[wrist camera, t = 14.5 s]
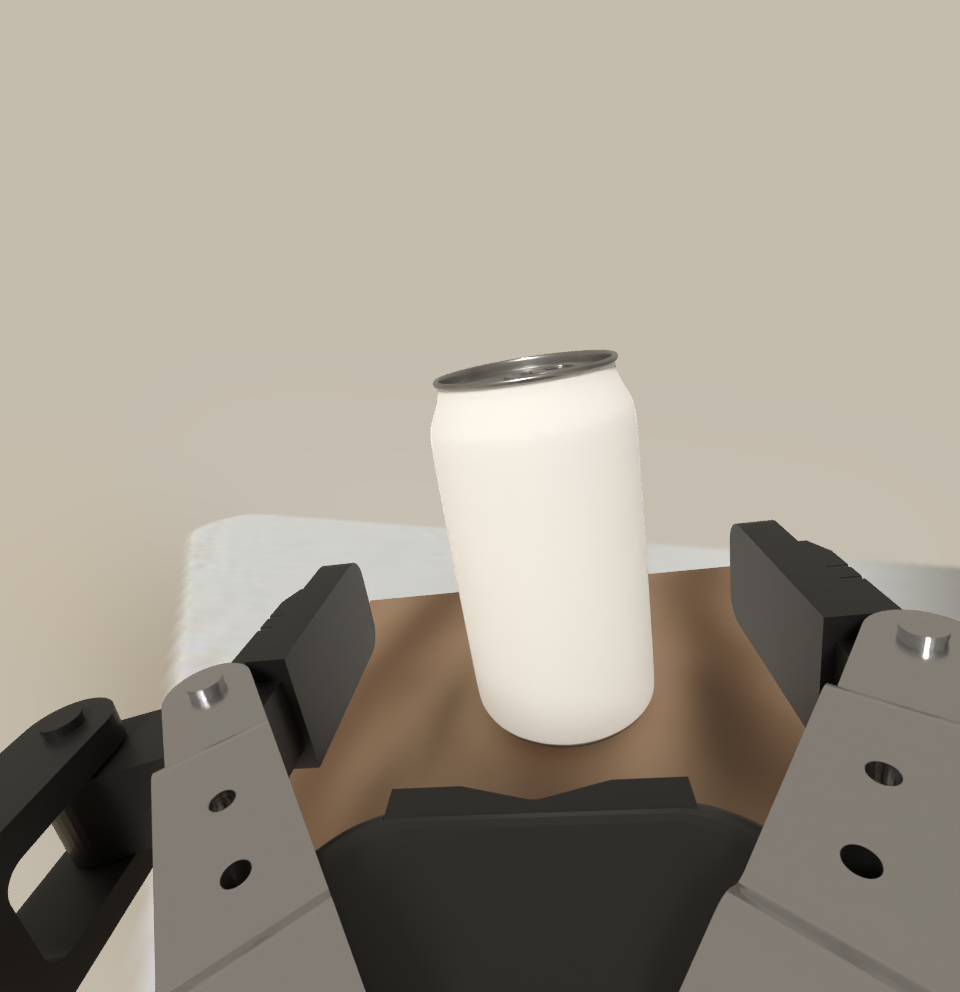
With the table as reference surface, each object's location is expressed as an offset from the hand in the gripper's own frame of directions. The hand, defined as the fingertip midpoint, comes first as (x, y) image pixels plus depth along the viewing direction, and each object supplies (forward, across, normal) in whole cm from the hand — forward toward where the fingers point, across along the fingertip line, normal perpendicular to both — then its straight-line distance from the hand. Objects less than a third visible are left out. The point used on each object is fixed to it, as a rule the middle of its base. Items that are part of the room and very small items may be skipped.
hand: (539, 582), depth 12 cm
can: (+6, 0, +8) cm, 10 cm away
